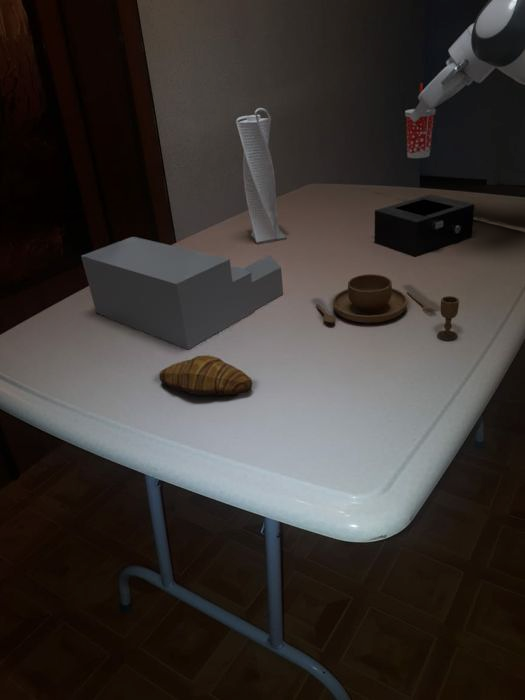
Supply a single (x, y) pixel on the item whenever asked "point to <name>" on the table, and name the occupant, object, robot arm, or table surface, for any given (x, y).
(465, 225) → the black open top box
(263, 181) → the skyscraper
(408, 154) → the beverage cup
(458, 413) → the table surface
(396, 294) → the place setting
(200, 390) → the croissant
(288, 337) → the table surface
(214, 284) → the grey stepped block
